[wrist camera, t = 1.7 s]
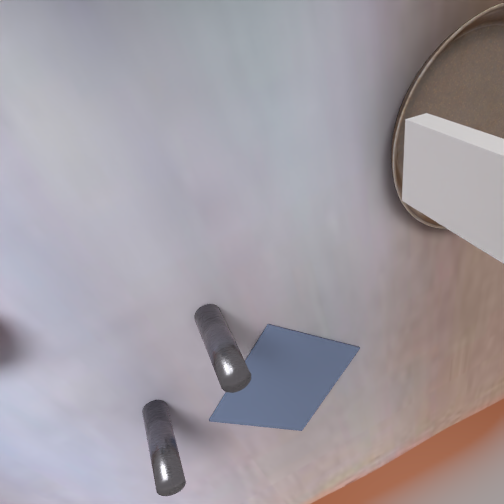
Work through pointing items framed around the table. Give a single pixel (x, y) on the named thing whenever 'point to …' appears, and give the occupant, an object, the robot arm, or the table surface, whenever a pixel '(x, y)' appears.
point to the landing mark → (285, 380)
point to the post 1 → (163, 449)
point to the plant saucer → (457, 88)
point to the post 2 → (222, 349)
